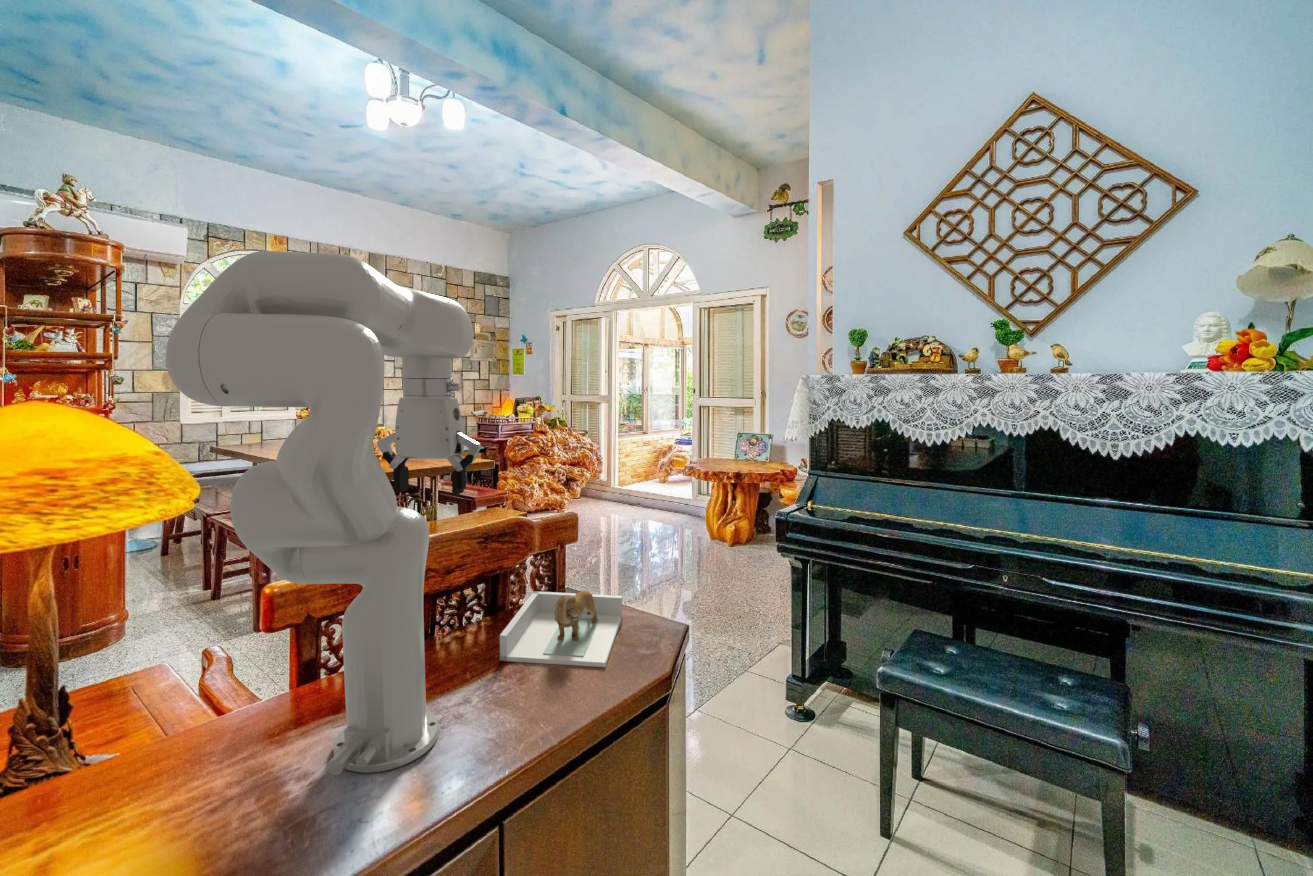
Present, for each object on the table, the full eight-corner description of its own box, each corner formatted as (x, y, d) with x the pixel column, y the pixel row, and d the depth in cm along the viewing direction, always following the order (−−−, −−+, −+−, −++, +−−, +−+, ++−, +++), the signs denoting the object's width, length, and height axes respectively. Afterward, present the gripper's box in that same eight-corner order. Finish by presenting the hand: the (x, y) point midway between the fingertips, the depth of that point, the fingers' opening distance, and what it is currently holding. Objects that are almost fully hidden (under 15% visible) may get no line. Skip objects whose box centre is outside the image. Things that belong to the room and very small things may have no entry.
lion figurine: (577, 651, 102) (578, 601, 101) (548, 648, 103) (548, 598, 102) (601, 617, 116) (601, 572, 115) (575, 614, 117) (575, 570, 116)
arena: (605, 667, 99) (605, 641, 99) (499, 660, 101) (499, 635, 100) (622, 617, 119) (622, 595, 118) (534, 612, 120) (533, 591, 120)
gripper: (487, 390, 100) (488, 489, 102) (389, 387, 102) (392, 486, 104) (470, 391, 93) (471, 499, 95) (363, 389, 94) (367, 495, 96)
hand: (430, 492), depth 99 cm, fingers open, 9 cm apart
